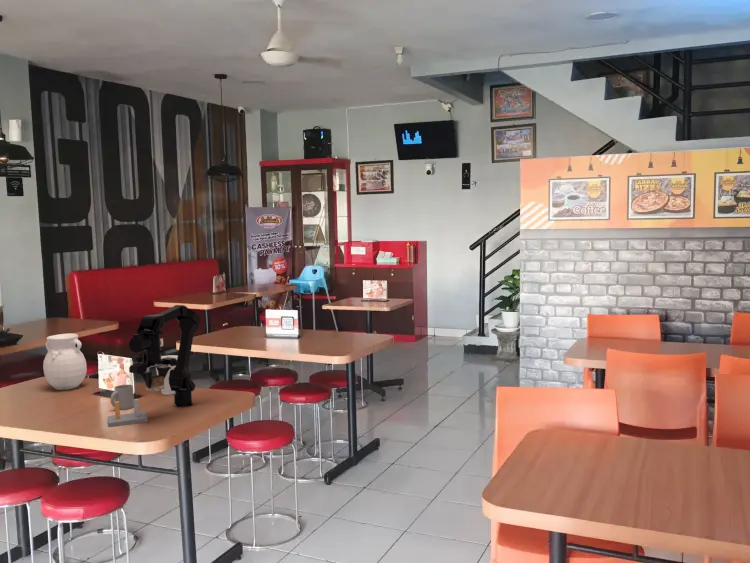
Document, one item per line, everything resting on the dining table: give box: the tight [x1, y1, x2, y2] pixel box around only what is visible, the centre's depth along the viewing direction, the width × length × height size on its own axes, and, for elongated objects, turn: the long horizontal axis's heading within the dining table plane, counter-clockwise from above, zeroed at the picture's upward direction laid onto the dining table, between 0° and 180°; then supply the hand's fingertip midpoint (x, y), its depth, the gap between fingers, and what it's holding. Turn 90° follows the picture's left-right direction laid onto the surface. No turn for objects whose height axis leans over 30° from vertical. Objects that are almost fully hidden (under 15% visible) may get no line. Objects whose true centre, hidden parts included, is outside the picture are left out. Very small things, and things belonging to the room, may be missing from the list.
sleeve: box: [144, 374, 164, 392], centre depth 257 cm, size 5×5×5 cm
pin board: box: [107, 398, 149, 428], centre depth 254 cm, size 14×10×8 cm
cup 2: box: [155, 354, 178, 396], centre depth 295 cm, size 12×12×16 cm
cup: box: [110, 384, 135, 411], centre depth 272 cm, size 7×10×9 cm
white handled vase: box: [42, 332, 88, 391], centre depth 309 cm, size 19×18×25 cm
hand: (154, 386), depth 257 cm, fingers closed on sleeve, 5 cm apart
